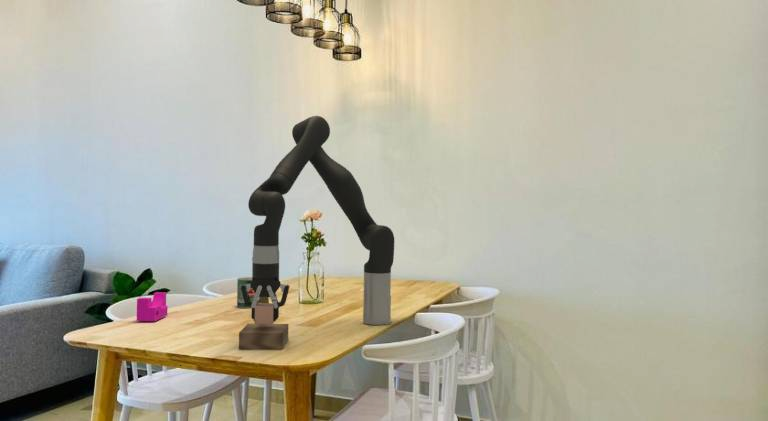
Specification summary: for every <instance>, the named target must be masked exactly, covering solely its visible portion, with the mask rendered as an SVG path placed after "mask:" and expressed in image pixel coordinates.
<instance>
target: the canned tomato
mask: <svg viewBox="0 0 768 421" xmlns="http://www.w3.org/2000/svg"><path fill="white" fill-rule="evenodd" d="M236 280H237V284H236V285H237V290H236V292H237V294H236V295H237V297H236V307H237V308H240V309H252V308H251V307H250V306H246V305H245V303H244V298H243V294H242V290H241V286H242V285H244V284H250V283H251V281H252V276H251V277H238V278H236ZM248 293H249V297H250V301H251V302H253V299H254V296H255V292H254V290H253V289H252V288H251V287H250V291H248Z"/></svg>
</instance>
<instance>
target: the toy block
mask: <svg viewBox="0 0 768 421" xmlns="http://www.w3.org/2000/svg"><path fill="white" fill-rule="evenodd" d="M167 316H168V305H167V292H153V297H139V298H137V299H136V322H139V321H140V322H156V321H158V320H161V319H163V318H165V317H167Z"/></svg>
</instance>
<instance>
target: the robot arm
mask: <svg viewBox="0 0 768 421" xmlns="http://www.w3.org/2000/svg"><path fill="white" fill-rule="evenodd" d="M330 128H331V127H330V125H329V123H328V121H327V120H326V119H325V117H322V116H319V115H312V116H310V117H308V118H306V119H303V120H302V121H300V122H298V123H296V124H295V125H294V126H293V128H292V131H291V132H292V134H291V135H292V138H293V141H294V143H295V144H296V145H295V146H294V147H293V148H292V149H291V150H289V152H288V153H287V154H286V155H284V157H283V158H282V159H281V160H280V161H279V163H278V164H277V165H276V166H275V168H274V169H273V171H272V173H271V174H270V176H269V177H268V178H267V179H266V180H264V182H263V183H261V184H260V185H259V186H258V187H257V188H256V189H255V190H254V191H253V192H252V193H251V195H250V197H249V199H248V205H247V206H248V210H249V212H250V213H251V214H252V215H253V216H257V217H265V219H264V221H263V223H262V224H257V225H256V226H254V228H253V229H254V230H253V249H252V258H251V261H252V262H251V263H252V265H251V266H252V268H251V269H252V271H251V272H252V275H251V278H252V281H251V283H250V284H244V285H242V286H241V290H242V294H243V298H244V303H245V305H246V306H250V307H251V308H250V309H251V319H252V320H253V322H255V306H256V305H257V304H258V301H259V299H260V297H264V296H265V297H268V298H270V300H271V303H273V306H274V311H273V321H274V322H276V321H277V320H278V319H279V318H280V316H279V314H280V308H281V307H283V306H285V304H286V302H287V298H288V295H289V292H290V287H291V286H290V285H289V284H283V283H281V281H280V249H279V248H280V247H279V245H280V241H279V239H280V237H279V236H280V227H281V225H282V222H283V218H284V215H285V211H286V201H285V198H284V196H285V195H286V194H288V193H289V192H290V190H291V189H292V187H293V186H294V184H295V182H297V179H298V177H299V176H300V174H301V173H302V171H303V170H304V168H305V167H306V165H307V164H308V162H309V163H310V164H311V166H313V168H314V169H315V171H316V172H317V174H318V176H320V177H319V178H321V180H322V181H323V182H324V184H325V185H326V187H327V189H328V191H329V192H330V194H331V195H332V198H334V200H335V201H336V203H337V204H338V206H339V207H340V209H341V210H342V212H343V213H344V215H345V216H346V218H347V219H348V220H349V222H350V224H351V226H352V228H353V229H354V231H355V233H356V235H357V238H358V239H359V241H360V243H361V244H362V246H363V248H365V250H368V251H369V256H368V260H367V262H365V263H364V265H363V301H362V302H363V304H362V306H363V307H362V310H363V311H362V313H363V314H362V323H364V324H366V325H370V326H373V325H375V326H376V325H377V326H382V325H383V326H384V325H391V314H392V312H391V310H392V309H391V308H392V307H391V306H392V304H391V302H392V296H391V290H392V288H391V286H392V285H391V283H392V282H391V281H392V280H391V277H392V275H391V274H392V267H393V264H394V260H395V259H394V256H395V236H394V232H393V230H392V229H391V228H390V227H389V226H387V225H382V224H377V222H376V221H375V220H374V219H373V217H372V216H371V215H370V212H368V209H367V207H366V204H365V199H364V198H365V197H364V194H363V191H362V188H361V187H360V185H359V183H358V181H357V180H356V179H355V177H354V175H353V174H352V172H351V171H350V170H348V169H347V167H345V166H343V165H342V164H340V163H339V162H337V161H336V160H334V159H333V158H332V157H330V156H329V154H327V153H326V151H325V149H324V148H323V147H322V146H323V144H325V143H326V142H327V140H328V139H329V137H330V134H331V129H330ZM250 287H251V288H252V289H253V290H254V292H255V296H254V299H253V302H251V301H250V297H249V293H248V291H250ZM279 288H280V290H281V293H282V294H281V295H282V296H281V298H280V301H279V299H278V296H277V291H279Z"/></svg>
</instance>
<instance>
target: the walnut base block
mask: <svg viewBox="0 0 768 421" xmlns="http://www.w3.org/2000/svg"><path fill="white" fill-rule="evenodd" d="M288 341H289V323H273V324H255V323H246V325H245V326H244V327H243V328H242V329H241V330H240V331H239V333H238V350H239V351H240V350H241V351H242V350H243V351H244V350H245V351H246V350H247V351H249V350H251V351H254V350H255V351H257V350H258V351H259V350H260V351H264V350H265V351H273V350H274V351H282V350H284V349H285V347H286V344H287V343H288Z"/></svg>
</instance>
